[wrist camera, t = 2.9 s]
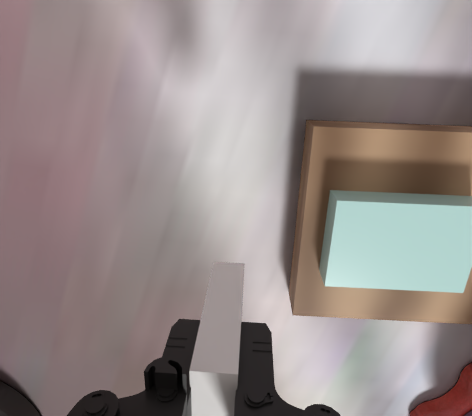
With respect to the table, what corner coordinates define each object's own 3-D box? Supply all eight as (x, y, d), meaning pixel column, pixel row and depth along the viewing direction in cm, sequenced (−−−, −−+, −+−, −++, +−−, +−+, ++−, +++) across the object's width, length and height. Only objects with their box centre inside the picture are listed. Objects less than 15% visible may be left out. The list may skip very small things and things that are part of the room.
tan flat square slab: (288, 291, 29) (292, 315, 26) (306, 120, 24) (313, 126, 21) (459, 300, 29) (481, 324, 26) (513, 127, 24) (548, 135, 21)
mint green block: (319, 270, 25) (324, 286, 23) (330, 190, 23) (337, 200, 21) (447, 276, 25) (463, 293, 23) (470, 196, 23) (490, 207, 21)
